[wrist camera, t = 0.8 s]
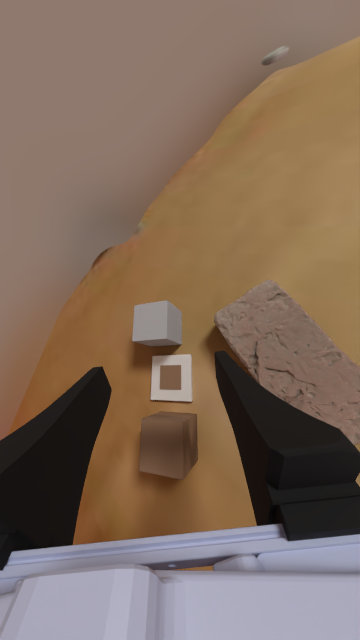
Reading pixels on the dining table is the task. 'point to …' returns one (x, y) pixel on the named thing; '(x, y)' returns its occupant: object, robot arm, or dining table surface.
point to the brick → (293, 356)
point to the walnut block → (168, 444)
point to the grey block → (157, 324)
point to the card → (172, 378)
